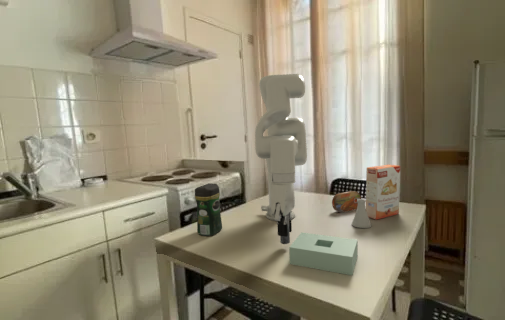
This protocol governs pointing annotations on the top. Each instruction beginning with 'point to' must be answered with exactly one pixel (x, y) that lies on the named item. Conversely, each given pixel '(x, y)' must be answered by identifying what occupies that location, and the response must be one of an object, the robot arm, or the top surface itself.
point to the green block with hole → (324, 253)
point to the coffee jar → (208, 209)
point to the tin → (345, 201)
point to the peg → (287, 239)
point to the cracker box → (382, 191)
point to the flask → (361, 216)
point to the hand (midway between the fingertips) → (284, 233)
